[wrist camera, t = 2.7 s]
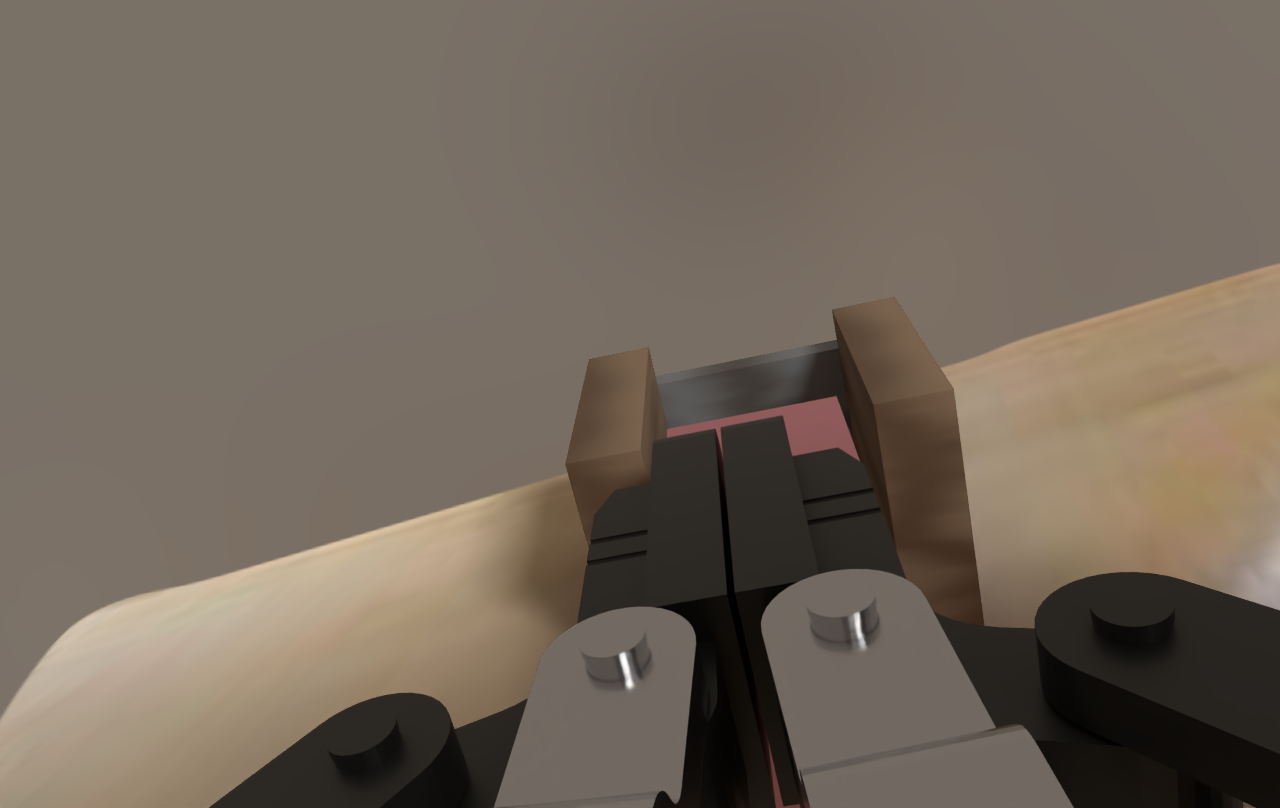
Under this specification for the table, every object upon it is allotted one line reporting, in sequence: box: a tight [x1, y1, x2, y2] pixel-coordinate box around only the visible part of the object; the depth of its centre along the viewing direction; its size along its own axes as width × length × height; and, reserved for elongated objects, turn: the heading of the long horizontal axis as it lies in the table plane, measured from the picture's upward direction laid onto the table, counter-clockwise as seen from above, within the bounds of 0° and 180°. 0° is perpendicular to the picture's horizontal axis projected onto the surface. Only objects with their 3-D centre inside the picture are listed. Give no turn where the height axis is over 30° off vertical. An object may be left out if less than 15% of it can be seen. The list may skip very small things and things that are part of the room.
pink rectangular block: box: [667, 396, 860, 808], centre depth 33 cm, size 6×16×13 cm, turn 178°
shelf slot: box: [565, 297, 984, 626], centre depth 49 cm, size 15×13×11 cm
